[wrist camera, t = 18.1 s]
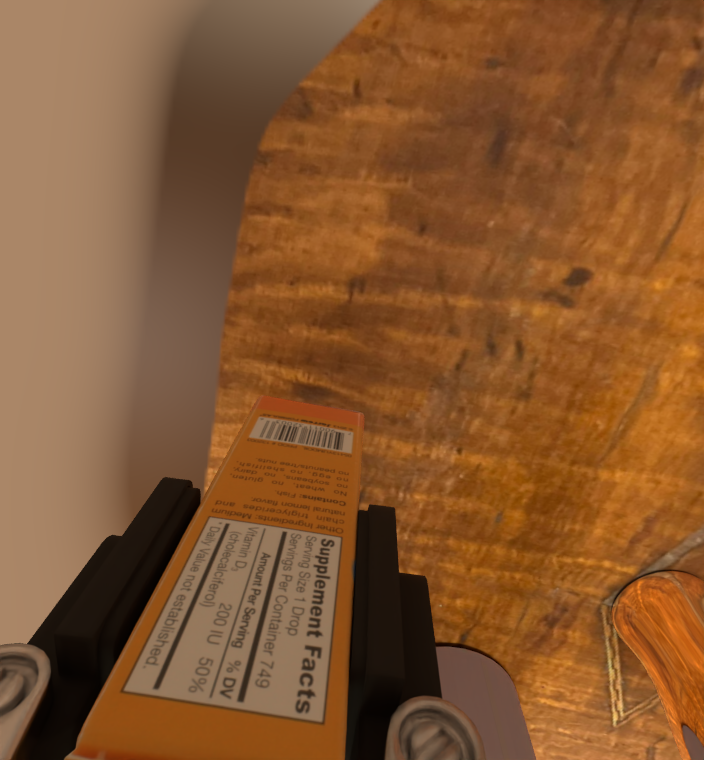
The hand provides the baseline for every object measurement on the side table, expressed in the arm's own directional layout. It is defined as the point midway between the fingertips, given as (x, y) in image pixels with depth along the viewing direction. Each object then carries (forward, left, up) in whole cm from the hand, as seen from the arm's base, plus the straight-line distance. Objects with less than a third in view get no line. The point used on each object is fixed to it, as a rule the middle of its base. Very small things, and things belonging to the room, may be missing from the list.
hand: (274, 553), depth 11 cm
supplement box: (0, 0, -5) cm, 5 cm away
